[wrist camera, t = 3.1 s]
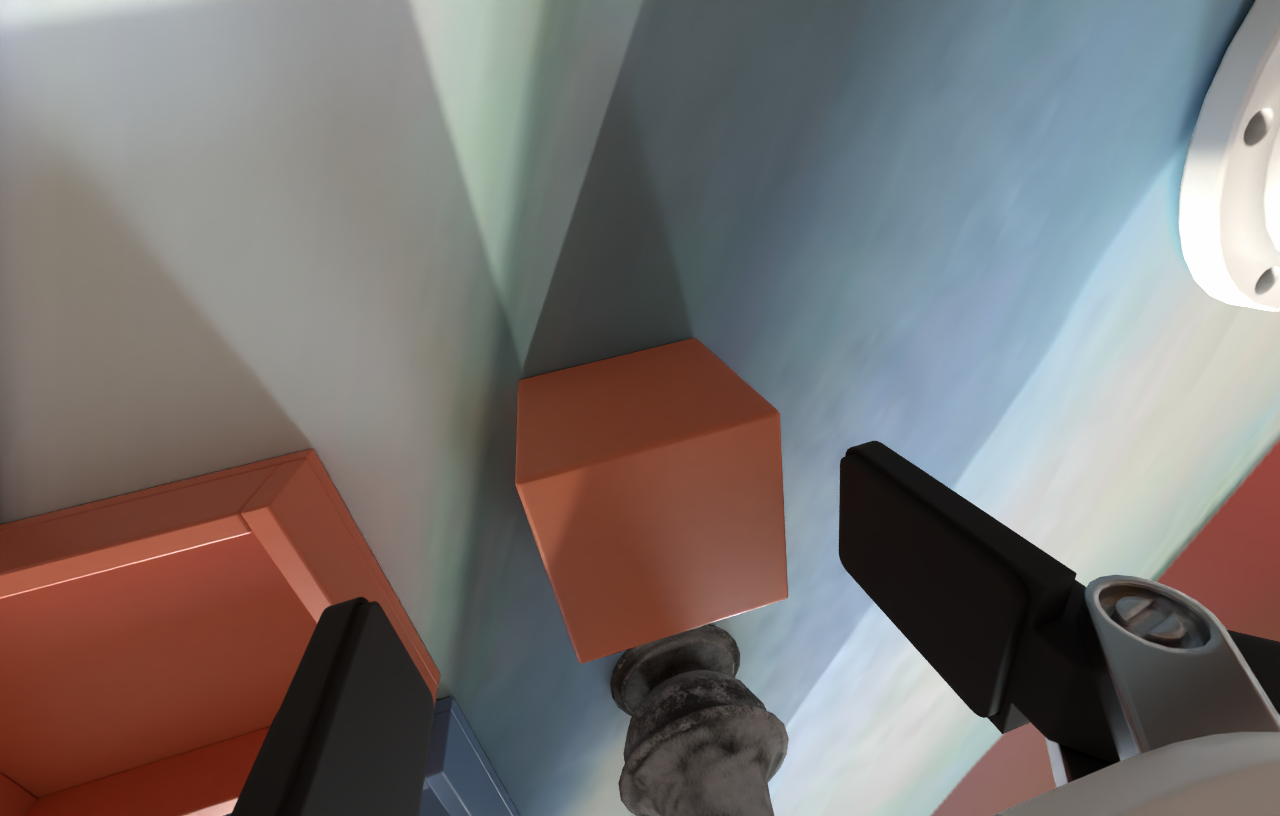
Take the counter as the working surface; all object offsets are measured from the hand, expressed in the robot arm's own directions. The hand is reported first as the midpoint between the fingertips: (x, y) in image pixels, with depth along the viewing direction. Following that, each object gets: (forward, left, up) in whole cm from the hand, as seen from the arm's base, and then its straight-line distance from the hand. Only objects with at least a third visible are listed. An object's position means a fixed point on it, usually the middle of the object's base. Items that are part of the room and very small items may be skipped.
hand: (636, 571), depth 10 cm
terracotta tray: (+13, +2, -5) cm, 14 cm away
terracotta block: (-1, 0, -5) cm, 5 cm away
